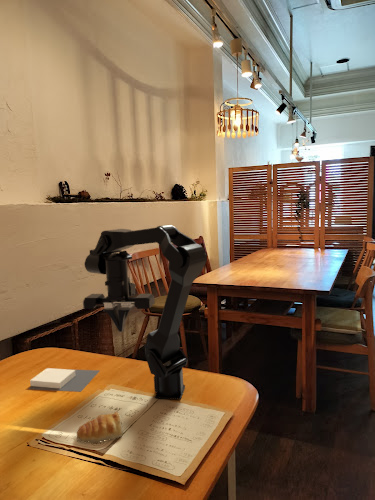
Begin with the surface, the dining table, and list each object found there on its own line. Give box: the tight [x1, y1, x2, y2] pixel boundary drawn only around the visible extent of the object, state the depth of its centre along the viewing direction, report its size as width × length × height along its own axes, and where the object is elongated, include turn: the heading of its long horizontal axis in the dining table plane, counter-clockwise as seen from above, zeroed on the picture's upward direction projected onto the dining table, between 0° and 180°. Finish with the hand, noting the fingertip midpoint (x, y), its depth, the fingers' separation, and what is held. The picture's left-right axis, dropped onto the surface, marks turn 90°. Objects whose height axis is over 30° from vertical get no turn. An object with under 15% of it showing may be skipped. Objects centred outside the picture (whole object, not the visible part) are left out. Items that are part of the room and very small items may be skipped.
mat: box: [28, 368, 100, 393], centre depth 102 cm, size 15×12×1 cm
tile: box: [29, 367, 76, 389], centre depth 102 cm, size 2×8×9 cm
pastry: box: [76, 411, 124, 443], centre depth 78 cm, size 9×7×4 cm
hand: (121, 331), depth 102 cm, fingers closed
